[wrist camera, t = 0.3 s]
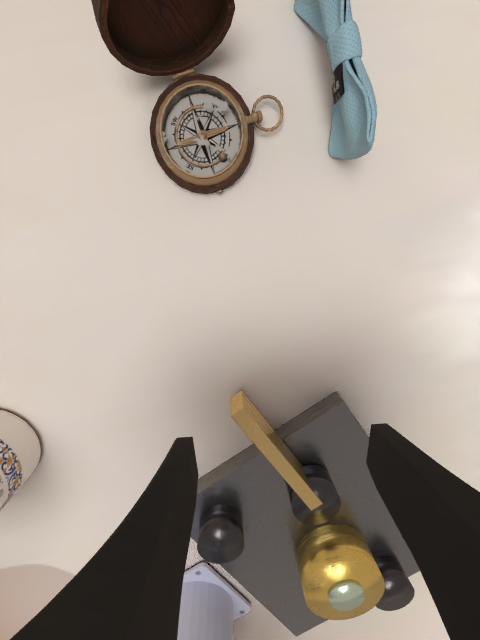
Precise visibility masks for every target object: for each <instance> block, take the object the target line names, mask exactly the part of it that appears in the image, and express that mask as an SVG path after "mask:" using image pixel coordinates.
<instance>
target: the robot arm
mask: <svg viewBox="0 0 480 640" xmlns="http://www.w3.org/2000/svg"><path fill="white" fill-rule="evenodd" d="M366 464H367V466H368V469H369V472H370V474H371V477H372V479H373V481H374V484H375V486H376V489H377V491H378V493H379V494H380V496H381V498H382V500H383V502H384V504H385V506H386V507H387V509H388V511H389V513H390V515H391V517H392V519H393V520H394V522H395V524H396V526H397V528H398V529H399V531H400V533H401V535H402V537H403V539H404V540H405V542H406V544H407V546H408V548H409V550H410V551H411V553H412V555H413V557H414V559H415V561H416V563H417V565H418V567H419V569H420V571H421V573H422V576H423V578H424V580H425V582H426V585H427V587H428V589H429V591H430V593H431V596H432V598H433V600H434V602H435V605H436V607H437V609H438V612H439V614H440V616H441V619H442V621H443V623H444V626H445V628H446V630H447V633H448V635H449V637H450V640H480V492H479V491H477V490H476V489H474V488H473V487H471V486H470V485H468V484H467V483H465V482H464V481H462V480H461V479H460V478H458V477H457V476H455V475H454V474H452V473H451V472H450V471H448V470H447V469H445V468H444V467H443V466H441V465H440V464H439V463H437V462H436V461H435V460H433V459H432V458H431V457H429V456H428V455H427V454H425V453H424V452H423V451H421V450H420V449H419V448H418V447H416V446H415V445H414V444H412V443H411V442H410V441H409V440H407V439H406V438H405V437H403V436H402V435H401V434H400V433H398V432H397V431H396V430H394V429H393V428H392V427H390V426H389V425H388V424H371V430H370V437H369V445H368V452H367V459H366ZM197 486H198V469H197V463H196V456H195V450H194V443H193V437H182V438H177V439H176V440H175V441H174V443H173V445H172V447H171V449H170V450H169V452H168V454H167V456H166V457H165V459H164V461H163V463H162V464H161V466H160V468H159V469H158V471H157V472H156V474H155V476H154V477H153V479H152V480H151V482H150V483H149V485H148V486H147V488H146V489H145V491H144V492H143V494H142V495H141V497H140V498H139V499H138V501H137V502H136V504H135V505H134V506H133V508H132V509H131V511H130V512H129V513H128V515H127V516H126V517H125V519H124V520H123V521H122V523H121V524H120V525H119V526H118V528H117V529H116V530H115V531H114V533H113V534H112V535H111V536H110V537H109V539H108V540H107V541H106V542H105V543H104V545H103V546H102V547H101V548H100V549H99V550H98V551H97V553H96V554H95V555H94V556H93V557H92V558H91V560H90V561H89V562H88V563H87V564H86V565H85V566H84V567H83V568H82V569H81V570H80V572H79V573H78V574H77V575H76V576H75V577H74V578H73V579H72V580H71V581H70V582H69V583H68V584H67V585H66V586H65V587H64V588H63V589H62V590H61V591H60V592H59V593H58V594H57V595H56V596H55V597H54V598H53V599H52V600H51V601H50V602H49V603H48V604H47V605H46V607H44V608H43V609H42V610H41V611H40V612H39V613H38V614H37V615H36V616H35V617H34V618H33V619H32V620H31V621H30V622H28V623H27V624H26V625H25V626H24V627H23V628H22V629H21V630H20V631H19V632H18V633H17V634H16V635H14V636H13V637H12V638H11V639H10V640H234V624H233V621H234V620H236V619H238V618H240V617H242V616H243V615H245V614H247V613H249V612H250V611H251V604H250V603H249V602H248V601H247V600H246V599H245V598H244V597H242V596H241V595H240V594H239V593H238V592H237V591H236V590H235V589H234V588H233V587H232V586H231V585H230V584H228V583H227V582H226V581H225V580H224V579H223V578H222V577H221V576H220V575H219V574H218V573H217V572H215V571H214V570H213V569H212V568H211V567H210V566H209V565H208V564H207V563H205V562H202V563H199V564H198V565H196V566H194V567H193V568H191V569H189V570H188V571H186V572H184V570H185V565H186V559H187V553H188V547H189V542H190V536H191V530H192V525H193V519H194V513H195V507H196V499H197Z"/></svg>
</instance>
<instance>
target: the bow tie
mask: <svg viewBox="0 0 480 640" xmlns="http://www.w3.org/2000/svg"><path fill="white" fill-rule="evenodd" d="M294 11H295V12H296V13H297V14H298V15H299V16H300V17H301V18H303V19H304V20H305V21H306V22H307V23H308V24H309V25H310V26H311V27H312V28H313V29H314V30H315V31H316V32H317V33H318V34H319V35H320V36H321V37H322V38H323V39H324V40H325V41H326V42H327V51H328V57H329V60H330V63H331V67H332V73H333V74H334V79H333V85H332V92H333V118H332V128H331V135H330V142H329V155H330V156H331V157H333V158H339V159H347V160H350V159H355V158H358V157H361V156H363V155H365V154H367V153H368V152H369V151H370V150H371V148H372V146H373V142H374V136H375V127H376V117H377V106H376V100H375V95H374V92H373V88H372V84H371V82H370V79H369V77H368V75H367V72H366V70H365V67H364V65H363V63H362V60H361V56H362V45H361V38H360V33H359V30H358V26H357V24H356V22H355V21H353V20H352V13H351V6H350V0H295V3H294Z"/></svg>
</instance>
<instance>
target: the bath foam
mask: <svg viewBox="0 0 480 640" xmlns="http://www.w3.org/2000/svg"><path fill="white" fill-rule="evenodd" d="M40 454H41V448H40V443H39V440H38V437H37V435H36V433H35V432H34V430H33V429H32V428H31V427H30V426H29V425H28V424H27V423H26V422H25V421H24V420H22V419H21V418H19V417H18V416H16V415H14V414H12V413H9V412H7V411H3V410H0V511H1V510H2V508H3V507H4V506H5V505H6V504H7V502H8V501H9V500H10V499H11V498H12V496H13V495H14V494H15V493H16V492H17V491H18V489H19V488H20V487H21V486H22V485H23V483H24V482H25V481H26V480H27V479H28V477H29V476H30V475H31V474H32V472H33V471H34V470H35V468H36V467H37V465H38V462H39V459H40Z"/></svg>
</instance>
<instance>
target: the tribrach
mask: <svg viewBox="0 0 480 640" xmlns="http://www.w3.org/2000/svg"><path fill="white" fill-rule="evenodd" d="M275 432H276V434H277V435H278V436H279V437H280V438H281V440H282V441H283V442H284V443H285V445H286V446H287V447H288V448H289V450H290V451H291V452H292V453H293V454H294V456H295V457H296V458H297V459H298V461H299V462H300V463H301V464H302V466H306V465H317V466H320V467H322V468H324V469H325V470H326V471H327V472H328V473H329V475H330V477H331V479H332V481H333V484H334V486H335V488H336V490H337V492H338V495H339V497H340V500H341V506H340V510H339V512H338V513H337V515H336V516H335V517H334V518H332V519H331V520H330V521H328V522H326V523H323V524H319V525H308V524H304V523H302V522H300V521H299V520H298V519H297V518H296V517H295V516H294V514H293V511H292V507H291V503H290V499H289V495H288V491H287V482H286V480H285V479H284V478H283V477H282V476H281V474H280V473H279V472H278V471H277V470H276V469H275V467H274V466H273V465H272V464H271V463H270V462H269V460H268V459H267V458H266V457H265V456H264V454H263V453H262V452H261V451H260V450H259V449H258V447H257V446H256V445H255V444H253V445H251V446H250V447H248V448H247V449H245V450H244V451H242V452H240V453H239V454H237V455H236V456H234V457H233V458H231V459H229V460H228V461H226V462H225V463H223V464H222V465H220V466H218V467H217V468H215V469H214V470H212V471H211V472H209V473H208V474H206V475H204V476H203V477H201V478H200V479H198V486H197V499H196V507H195V513H194V519H193V525H192V530H191V536H190V537H191V538H192V539H193V540H194V541H195V542H197V543H198V544H197V550H198V553H199V554H200V556H201V557H202V558H203V559H205V560H206V561H208V562H211V563H216V564H220V565H221V566H222V567H223V568H224V569H225V570H226V571H227V572H228V573H229V574H231V575H232V576H233V577H234V578H235V579H236V580H237V581H238V582H239V583H240V584H241V585H242V586H243V587H244V588H245V589H246V590H248V591H249V592H250V593H251V594H252V595H253V596H254V597H255V598H256V599H257V600H258V601H259V602H260V603H261V604H262V605H263V606H265V607H266V608H267V609H268V610H269V611H270V612H271V613H272V614H273V615H274V616H275V617H276V618H277V619H278V620H279V621H281V622H282V623H283V624H284V625H285V626H286V627H287V628H288V629H289V630H290V631H291V632H292V633H293V634H294V635H295V636H298V635H300V634H302V633H304V632H306V631H308V630H310V629H311V628H313V627H315V626H317V625H319V624H321V623H323V622H325V621H326V620H328V619H331V620H345V619H350V618H354V617H357V616H360V615H362V614H364V613H366V612H367V611H369V610H370V609H372V608H373V607H374V606H376V607H377V608H379V609H381V610H385V611H393V610H397V609H400V608H403V607H404V606H406V605H407V604H409V603H410V602H411V600H412V599H413V597H414V588H413V586H412V585H411V583H410V581H409V579H408V577H409V576H411V575H413V574H415V573H416V572H418V571H420V569H419V567H418V565H417V563H416V561H415V559H414V557H413V555H412V553H411V551H410V550H409V548H408V546H407V544H406V542H405V540H404V539H403V537H402V535H401V533H400V531H399V529H398V528H397V526H396V524H395V522H394V520H393V519H392V517H391V515H390V513H389V511H388V509H387V507H386V506H385V504H384V502H383V500H382V498H381V496H380V494H379V493H378V491H377V489H376V486H375V484H374V481H373V479H372V477H371V474H370V472H369V469H368V466H367V464H366V459H367V452H368V445H369V437H368V436H367V434H366V433H365V431H364V430H363V429H362V427H361V426H360V424H359V423H358V421H357V420H356V419H355V417H354V416H353V414H352V413H351V411H350V410H349V409H348V407H347V406H346V404H345V403H344V401H343V400H342V399H341V397H340V396H339V395H338V393H337V392H334V393H333V394H331V395H330V396H328V397H326V398H325V399H323V400H322V401H320V402H319V403H317V404H315V405H314V406H312V407H311V408H309V409H308V410H306V411H304V412H303V413H301V414H300V415H298V416H297V417H295V418H294V419H292V420H290V421H289V422H287V423H286V424H284V425H283V426H281V427H279V428H278V429H276V430H275Z"/></svg>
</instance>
